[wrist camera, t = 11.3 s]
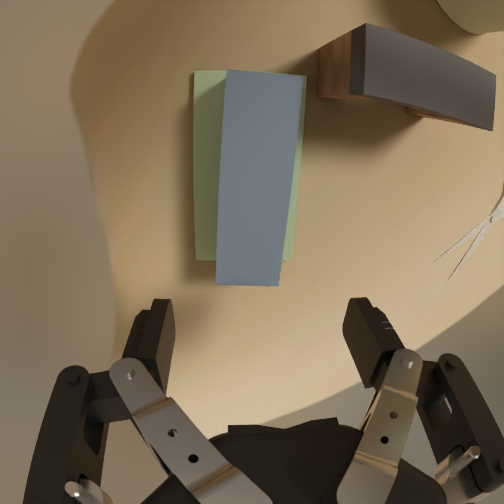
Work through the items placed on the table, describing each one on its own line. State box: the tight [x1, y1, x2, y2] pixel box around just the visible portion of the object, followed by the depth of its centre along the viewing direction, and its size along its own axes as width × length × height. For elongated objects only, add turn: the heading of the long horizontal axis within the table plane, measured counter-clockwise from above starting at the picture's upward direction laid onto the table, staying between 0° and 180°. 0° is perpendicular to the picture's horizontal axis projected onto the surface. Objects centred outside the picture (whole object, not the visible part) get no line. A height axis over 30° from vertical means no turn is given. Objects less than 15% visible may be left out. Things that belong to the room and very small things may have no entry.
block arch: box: [317, 23, 496, 131], centre depth 16 cm, size 4×10×8 cm, turn 88°
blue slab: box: [216, 70, 303, 286], centre depth 20 cm, size 14×4×4 cm, turn 175°
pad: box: [193, 70, 307, 261], centre depth 22 cm, size 15×8×1 cm, turn 178°
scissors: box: [434, 190, 504, 282], centre depth 26 cm, size 11×1×20 cm
